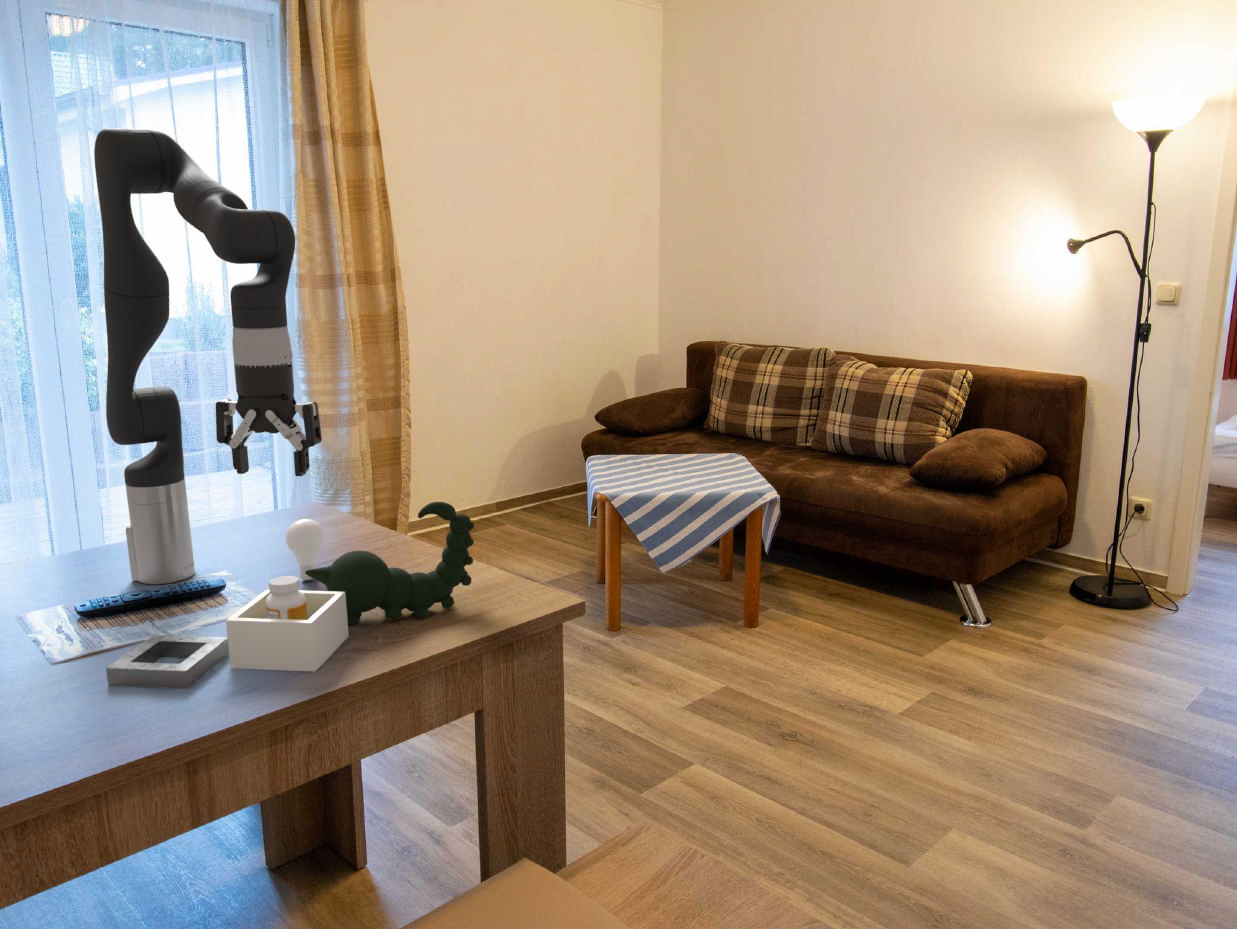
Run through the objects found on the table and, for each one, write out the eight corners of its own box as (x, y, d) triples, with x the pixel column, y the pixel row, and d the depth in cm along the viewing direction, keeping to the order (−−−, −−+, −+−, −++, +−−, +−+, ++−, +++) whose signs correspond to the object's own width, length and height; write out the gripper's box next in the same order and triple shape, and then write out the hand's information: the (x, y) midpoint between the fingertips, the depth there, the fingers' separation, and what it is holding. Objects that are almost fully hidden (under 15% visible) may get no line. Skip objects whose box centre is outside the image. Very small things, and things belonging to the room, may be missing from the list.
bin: (230, 668, 130) (225, 620, 128) (270, 633, 141) (266, 589, 140) (315, 671, 129) (311, 623, 127) (348, 636, 140) (345, 591, 139)
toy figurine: (461, 606, 157) (302, 614, 148) (467, 494, 153) (304, 495, 144) (474, 626, 148) (305, 636, 139) (480, 508, 145) (308, 511, 135)
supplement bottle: (311, 636, 138) (306, 572, 136) (307, 651, 133) (301, 585, 131) (272, 639, 137) (266, 575, 135) (266, 654, 132) (260, 588, 130)
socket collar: (108, 685, 125) (106, 668, 124) (156, 651, 136) (154, 634, 135) (187, 688, 124) (185, 671, 123) (229, 654, 134) (228, 637, 134)
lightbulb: (333, 574, 167) (329, 514, 165) (319, 587, 161) (314, 525, 158) (299, 573, 168) (294, 513, 165) (283, 586, 161) (277, 524, 159)
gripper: (199, 362, 127) (210, 478, 131) (301, 364, 126) (309, 482, 130) (227, 355, 135) (237, 465, 139) (324, 357, 133) (331, 469, 137)
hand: (272, 473), depth 134 cm, fingers open, 8 cm apart
